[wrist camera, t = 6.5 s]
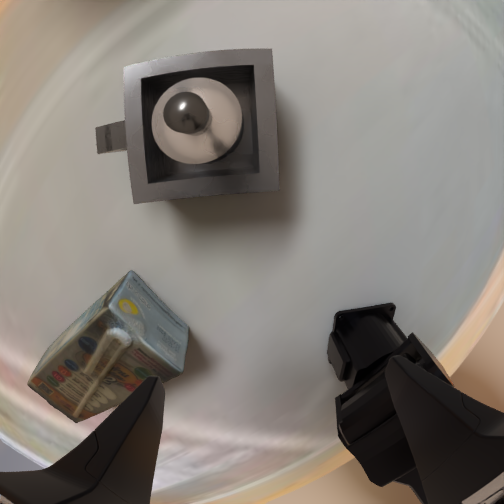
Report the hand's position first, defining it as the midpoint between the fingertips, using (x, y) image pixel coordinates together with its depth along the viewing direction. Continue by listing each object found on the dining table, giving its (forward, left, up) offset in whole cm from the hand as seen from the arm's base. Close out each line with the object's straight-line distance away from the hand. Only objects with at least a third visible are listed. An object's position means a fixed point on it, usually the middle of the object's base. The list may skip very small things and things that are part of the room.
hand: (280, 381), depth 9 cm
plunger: (+3, -9, -12) cm, 16 cm away
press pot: (+4, -9, -13) cm, 16 cm away
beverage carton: (+16, +9, -13) cm, 22 cm away
